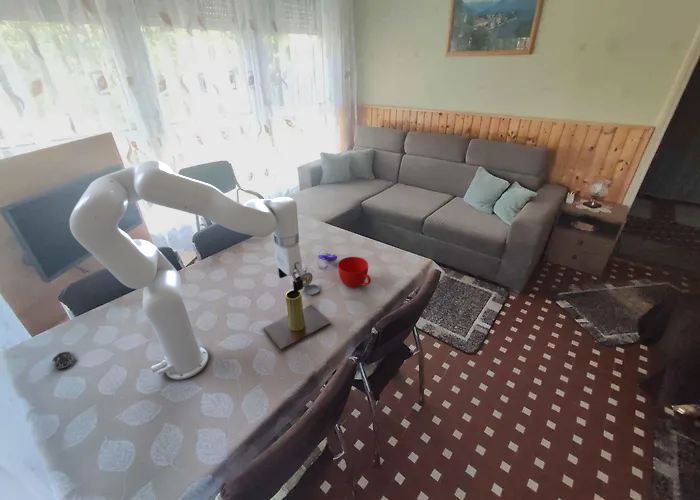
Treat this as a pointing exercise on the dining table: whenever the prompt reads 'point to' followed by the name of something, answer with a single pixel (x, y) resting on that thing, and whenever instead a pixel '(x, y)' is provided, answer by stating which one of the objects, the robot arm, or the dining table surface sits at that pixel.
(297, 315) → the vase
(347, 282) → the ceramic cup
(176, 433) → the dining table surface
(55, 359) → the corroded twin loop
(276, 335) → the serving board
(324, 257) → the game controller
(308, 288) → the pocket watch
